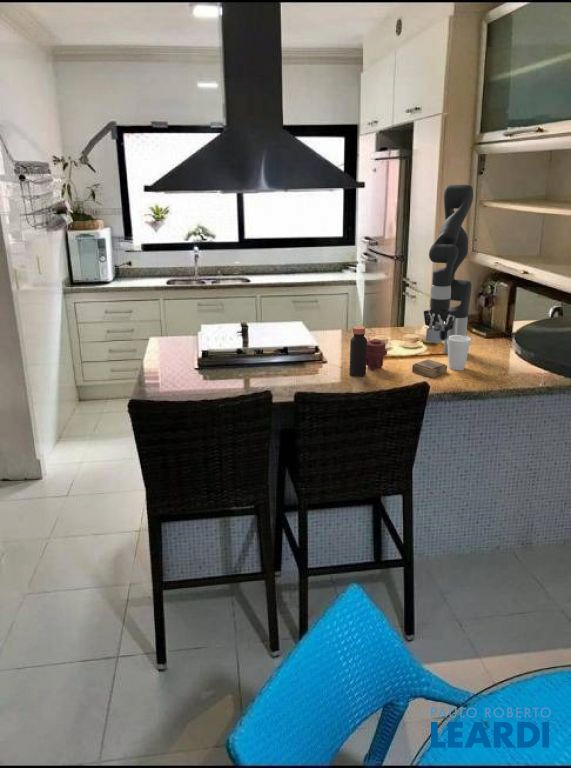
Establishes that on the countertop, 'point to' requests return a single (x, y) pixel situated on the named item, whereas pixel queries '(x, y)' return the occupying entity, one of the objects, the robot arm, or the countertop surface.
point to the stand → (429, 368)
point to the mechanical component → (375, 354)
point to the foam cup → (458, 351)
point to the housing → (435, 334)
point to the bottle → (358, 352)
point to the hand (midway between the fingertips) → (437, 337)
